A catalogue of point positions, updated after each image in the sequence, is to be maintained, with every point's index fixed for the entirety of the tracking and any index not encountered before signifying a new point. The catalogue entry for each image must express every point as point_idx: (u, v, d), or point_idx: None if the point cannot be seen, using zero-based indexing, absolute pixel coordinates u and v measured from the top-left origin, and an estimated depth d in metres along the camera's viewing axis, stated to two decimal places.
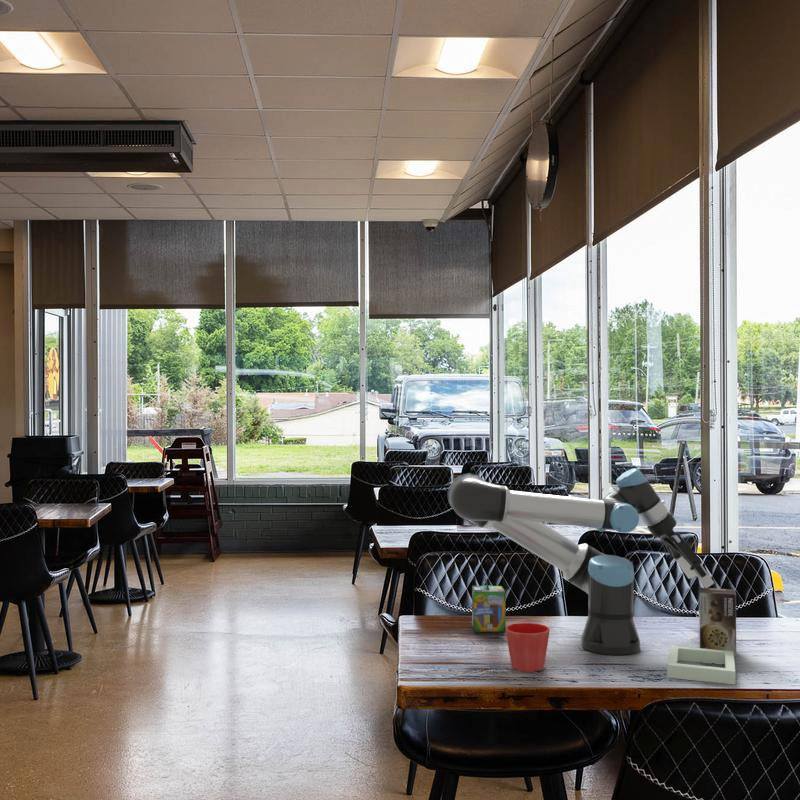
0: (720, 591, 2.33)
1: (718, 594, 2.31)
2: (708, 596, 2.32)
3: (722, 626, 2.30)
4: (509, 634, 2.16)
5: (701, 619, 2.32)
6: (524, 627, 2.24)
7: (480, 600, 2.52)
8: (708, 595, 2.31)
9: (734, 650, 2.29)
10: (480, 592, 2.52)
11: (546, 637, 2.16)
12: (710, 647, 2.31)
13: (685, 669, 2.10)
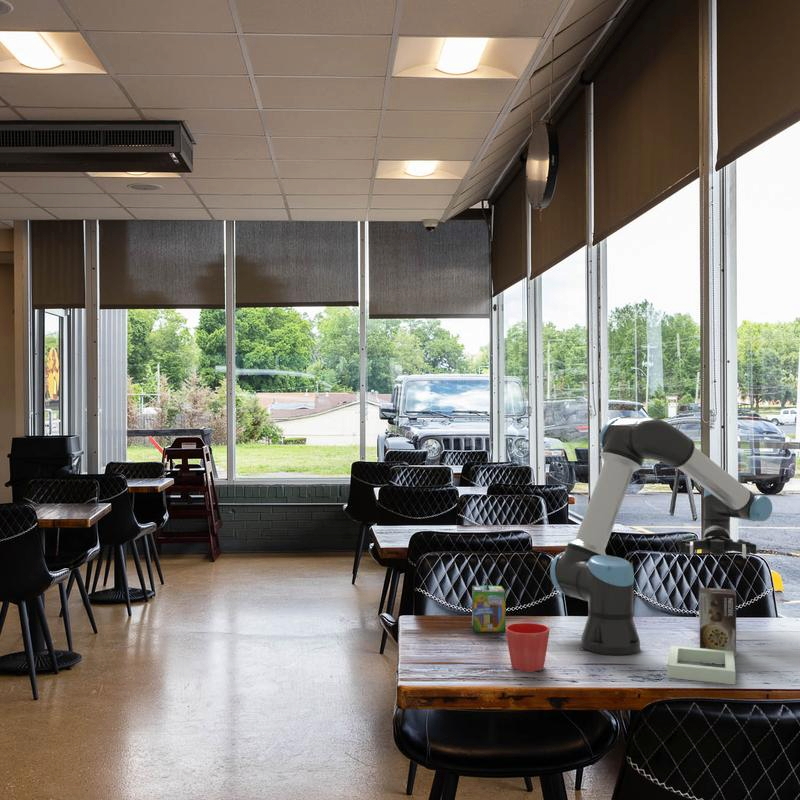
0: (720, 591, 2.33)
1: (718, 594, 2.31)
2: (708, 596, 2.32)
3: (722, 626, 2.30)
4: (509, 634, 2.16)
5: (701, 619, 2.32)
6: (524, 627, 2.24)
7: (480, 600, 2.52)
8: (708, 595, 2.31)
9: (734, 650, 2.29)
10: (480, 592, 2.52)
11: (546, 637, 2.16)
12: (710, 647, 2.31)
13: (685, 669, 2.10)
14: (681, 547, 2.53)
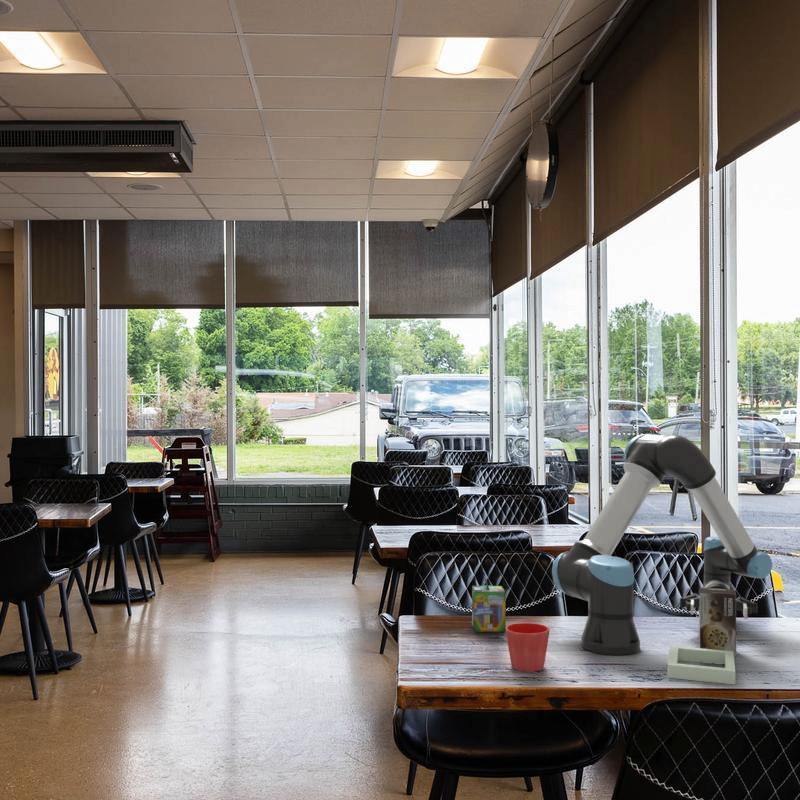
0: (720, 591, 2.33)
1: (718, 594, 2.31)
2: (708, 596, 2.32)
3: (722, 626, 2.30)
4: (509, 634, 2.16)
5: (701, 619, 2.32)
6: (524, 627, 2.24)
7: (480, 600, 2.52)
8: (708, 595, 2.31)
9: (734, 650, 2.29)
10: (480, 592, 2.52)
11: (546, 637, 2.16)
12: (710, 647, 2.31)
13: (685, 669, 2.10)
14: (681, 605, 2.51)
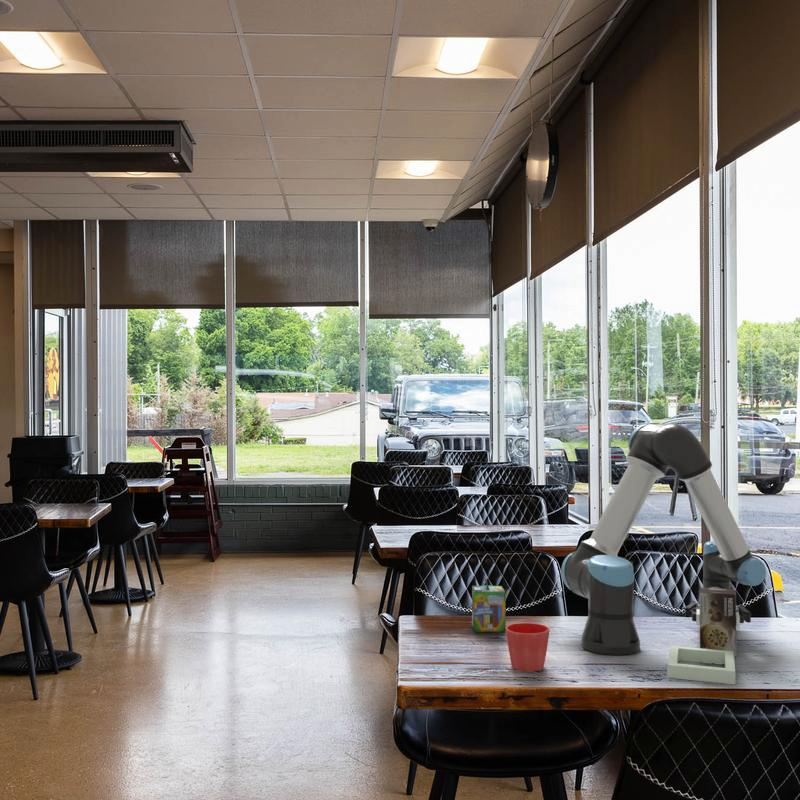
0: (720, 591, 2.33)
1: (718, 594, 2.31)
2: (708, 596, 2.32)
3: (722, 626, 2.30)
4: (509, 634, 2.16)
5: (701, 619, 2.32)
6: (524, 627, 2.24)
7: (480, 600, 2.52)
8: (708, 595, 2.31)
9: (734, 650, 2.29)
10: (480, 592, 2.52)
11: (546, 637, 2.16)
12: (710, 647, 2.31)
13: (685, 669, 2.10)
14: (687, 614, 2.39)
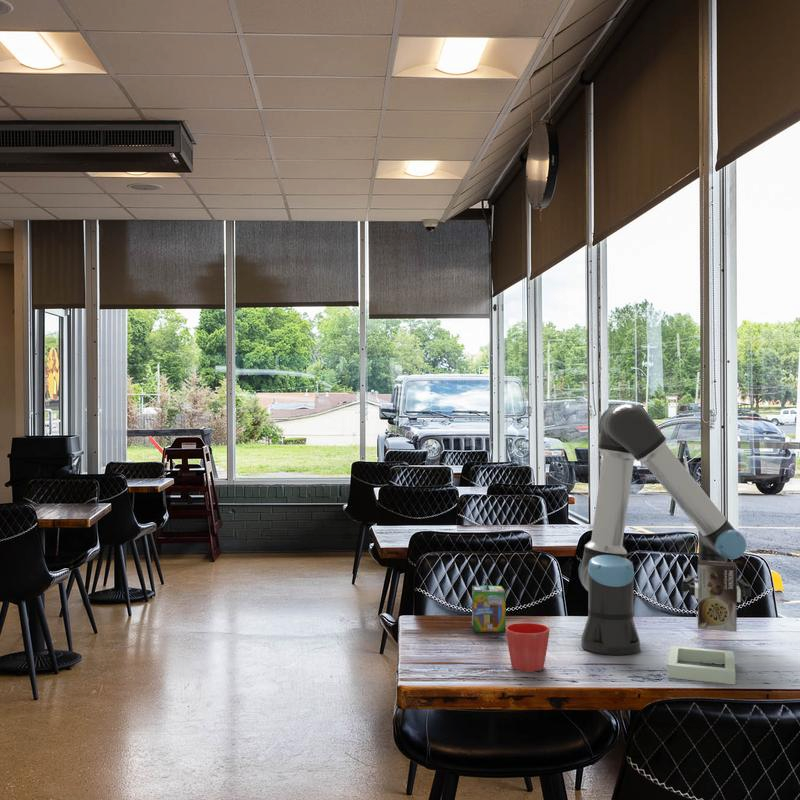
0: (720, 563, 2.21)
1: (718, 566, 2.19)
2: (707, 569, 2.20)
3: (722, 600, 2.19)
4: (509, 634, 2.16)
5: (700, 593, 2.21)
6: (524, 627, 2.24)
7: (480, 600, 2.52)
8: (708, 567, 2.20)
9: (734, 625, 2.18)
10: (480, 592, 2.52)
11: (546, 637, 2.16)
12: (709, 621, 2.20)
13: (685, 669, 2.10)
14: (684, 588, 2.27)
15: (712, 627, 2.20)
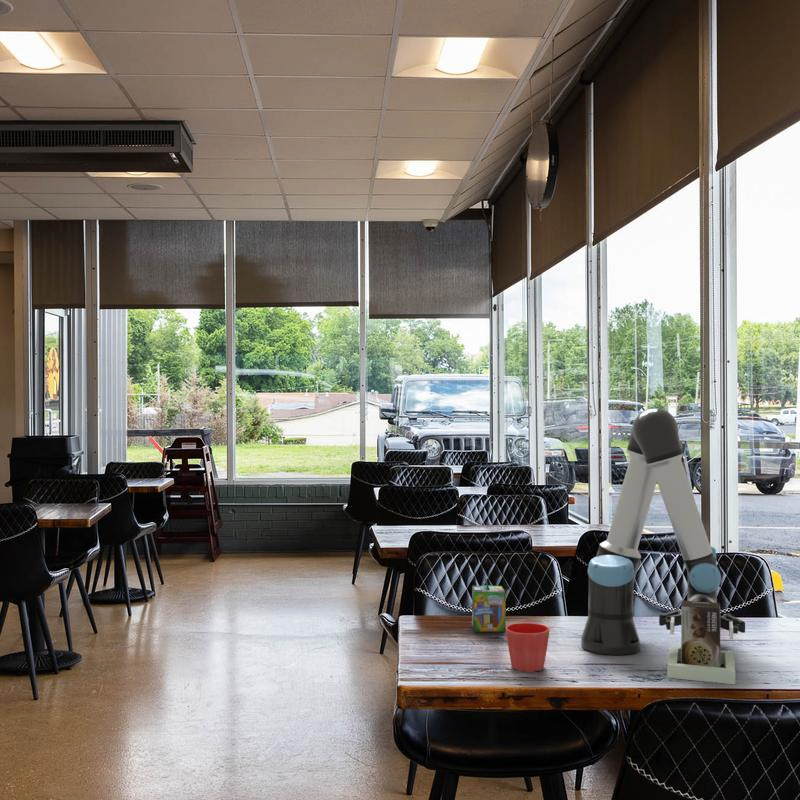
0: (703, 605, 2.17)
1: (701, 608, 2.15)
2: (690, 610, 2.15)
3: (705, 643, 2.14)
4: (509, 634, 2.16)
5: (683, 635, 2.16)
6: (524, 627, 2.24)
7: (480, 600, 2.52)
8: (690, 609, 2.15)
9: None
10: (480, 592, 2.52)
11: (546, 637, 2.16)
12: (692, 664, 2.15)
13: (685, 669, 2.10)
14: (661, 622, 2.24)
15: None
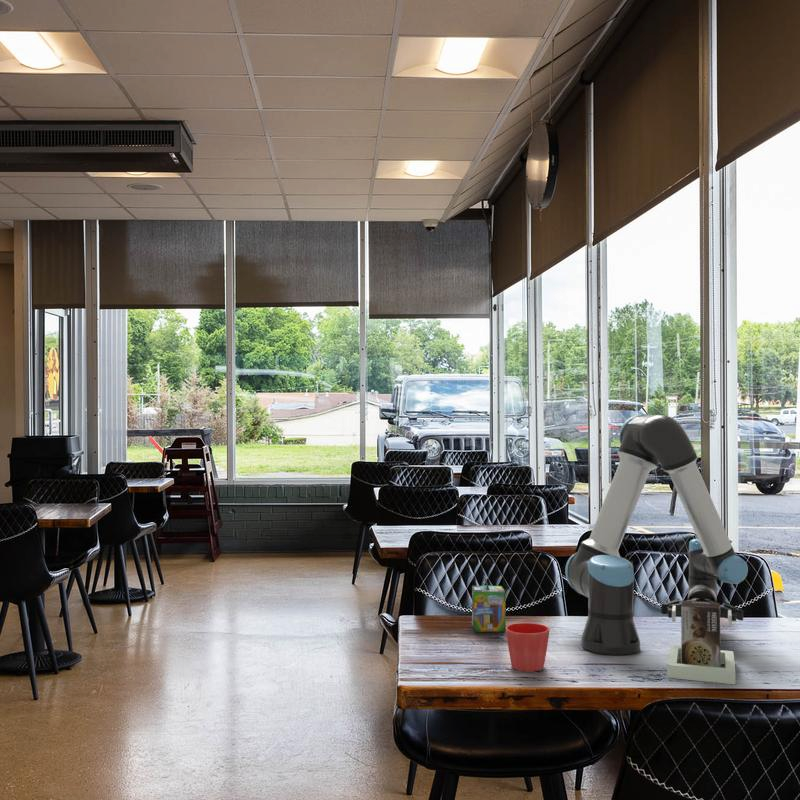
0: (703, 605, 2.17)
1: (701, 608, 2.15)
2: (690, 610, 2.15)
3: (705, 643, 2.14)
4: (509, 634, 2.16)
5: (683, 635, 2.16)
6: (524, 627, 2.24)
7: (480, 600, 2.52)
8: (690, 609, 2.15)
9: None
10: (480, 592, 2.52)
11: (546, 637, 2.16)
12: (692, 664, 2.15)
13: (685, 669, 2.10)
14: (663, 611, 2.37)
15: None
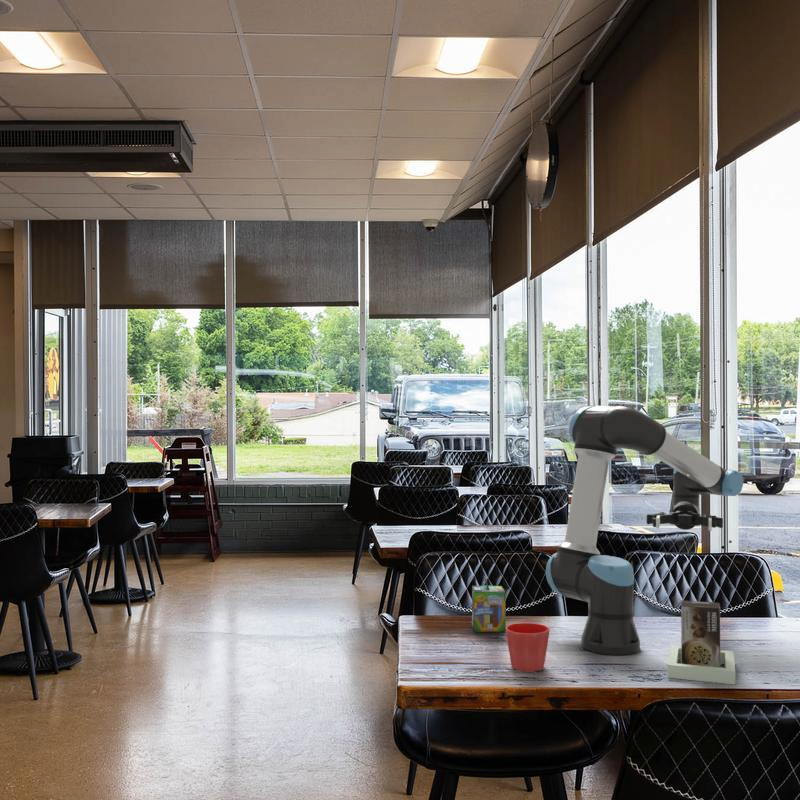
0: (703, 605, 2.17)
1: (701, 608, 2.15)
2: (690, 610, 2.15)
3: (705, 643, 2.14)
4: (509, 634, 2.16)
5: (683, 635, 2.16)
6: (524, 627, 2.24)
7: (480, 600, 2.52)
8: (690, 609, 2.15)
9: None
10: (480, 592, 2.52)
11: (546, 637, 2.16)
12: (692, 664, 2.15)
13: (685, 669, 2.10)
14: (648, 521, 2.53)
15: None
